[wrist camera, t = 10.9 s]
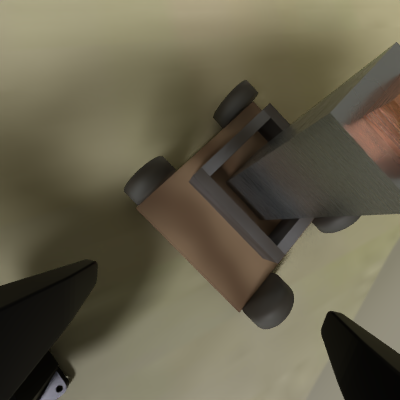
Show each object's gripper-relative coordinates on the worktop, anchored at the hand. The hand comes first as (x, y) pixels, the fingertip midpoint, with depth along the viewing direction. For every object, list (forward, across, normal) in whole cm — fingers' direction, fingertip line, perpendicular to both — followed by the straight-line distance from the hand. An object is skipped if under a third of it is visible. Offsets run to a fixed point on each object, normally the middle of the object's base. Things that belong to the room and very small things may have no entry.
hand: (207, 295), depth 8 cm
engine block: (+13, -4, -3) cm, 14 cm away
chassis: (+14, -3, -1) cm, 14 cm away
